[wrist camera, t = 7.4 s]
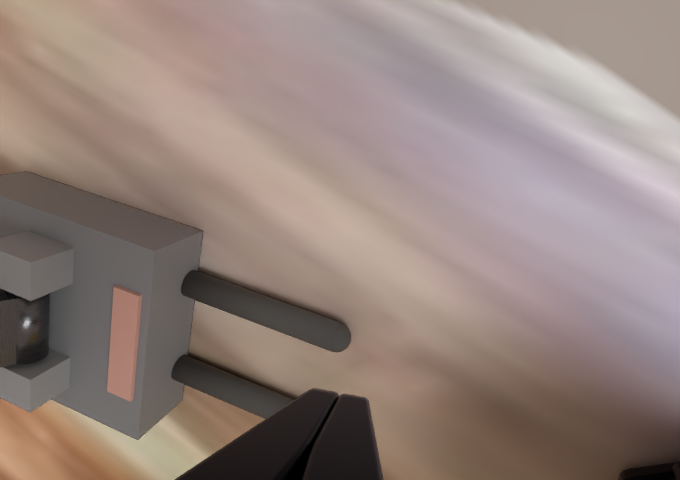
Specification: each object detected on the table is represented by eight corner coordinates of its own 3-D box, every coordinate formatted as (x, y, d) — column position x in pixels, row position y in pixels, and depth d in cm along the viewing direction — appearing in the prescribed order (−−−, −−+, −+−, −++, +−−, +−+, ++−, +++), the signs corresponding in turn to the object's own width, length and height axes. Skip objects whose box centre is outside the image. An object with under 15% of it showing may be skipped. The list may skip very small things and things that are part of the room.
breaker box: (203, 231, 22) (117, 267, 18) (182, 400, 25) (103, 470, 21) (25, 171, 25) (-92, 188, 20) (25, 332, 28) (-77, 380, 23)
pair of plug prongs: (357, 323, 21) (348, 335, 20) (330, 432, 23) (321, 449, 22) (187, 262, 23) (170, 270, 22) (175, 367, 25) (159, 379, 24)
